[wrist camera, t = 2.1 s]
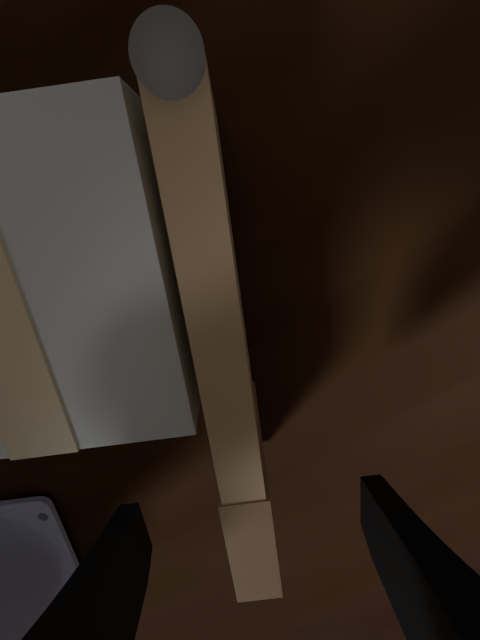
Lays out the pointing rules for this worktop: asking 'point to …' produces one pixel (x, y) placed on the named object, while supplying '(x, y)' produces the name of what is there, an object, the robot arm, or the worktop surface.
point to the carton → (86, 278)
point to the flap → (207, 282)
